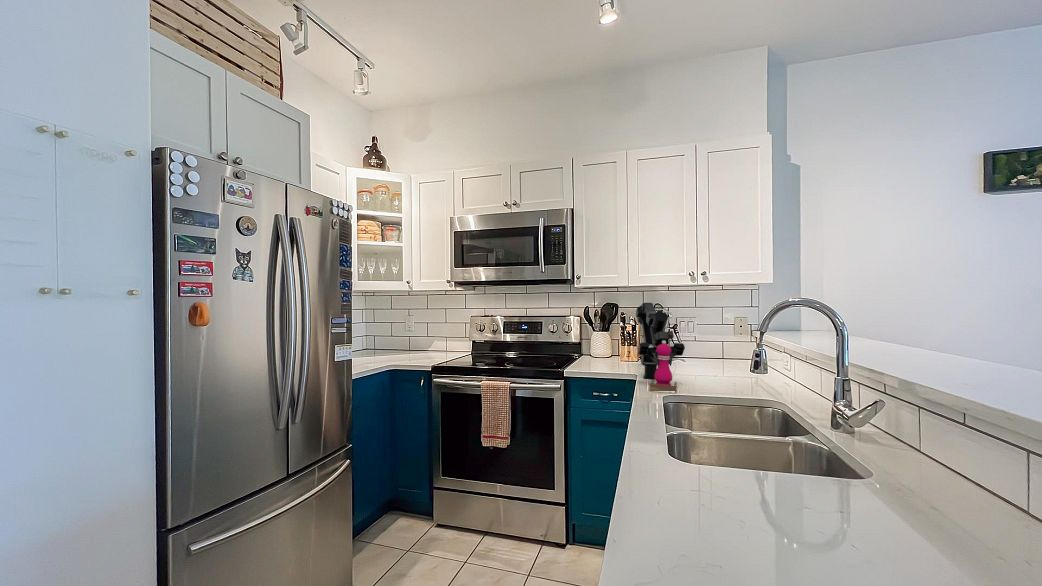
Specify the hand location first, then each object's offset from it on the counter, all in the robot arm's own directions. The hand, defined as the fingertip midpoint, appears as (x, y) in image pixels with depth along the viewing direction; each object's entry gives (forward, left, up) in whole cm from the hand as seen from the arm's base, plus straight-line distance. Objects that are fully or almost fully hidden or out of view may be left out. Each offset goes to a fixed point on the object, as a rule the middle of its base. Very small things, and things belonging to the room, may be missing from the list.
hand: (664, 365), depth 184 cm
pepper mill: (-1, -1, -10) cm, 10 cm away
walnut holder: (-1, 0, -11) cm, 11 cm away
